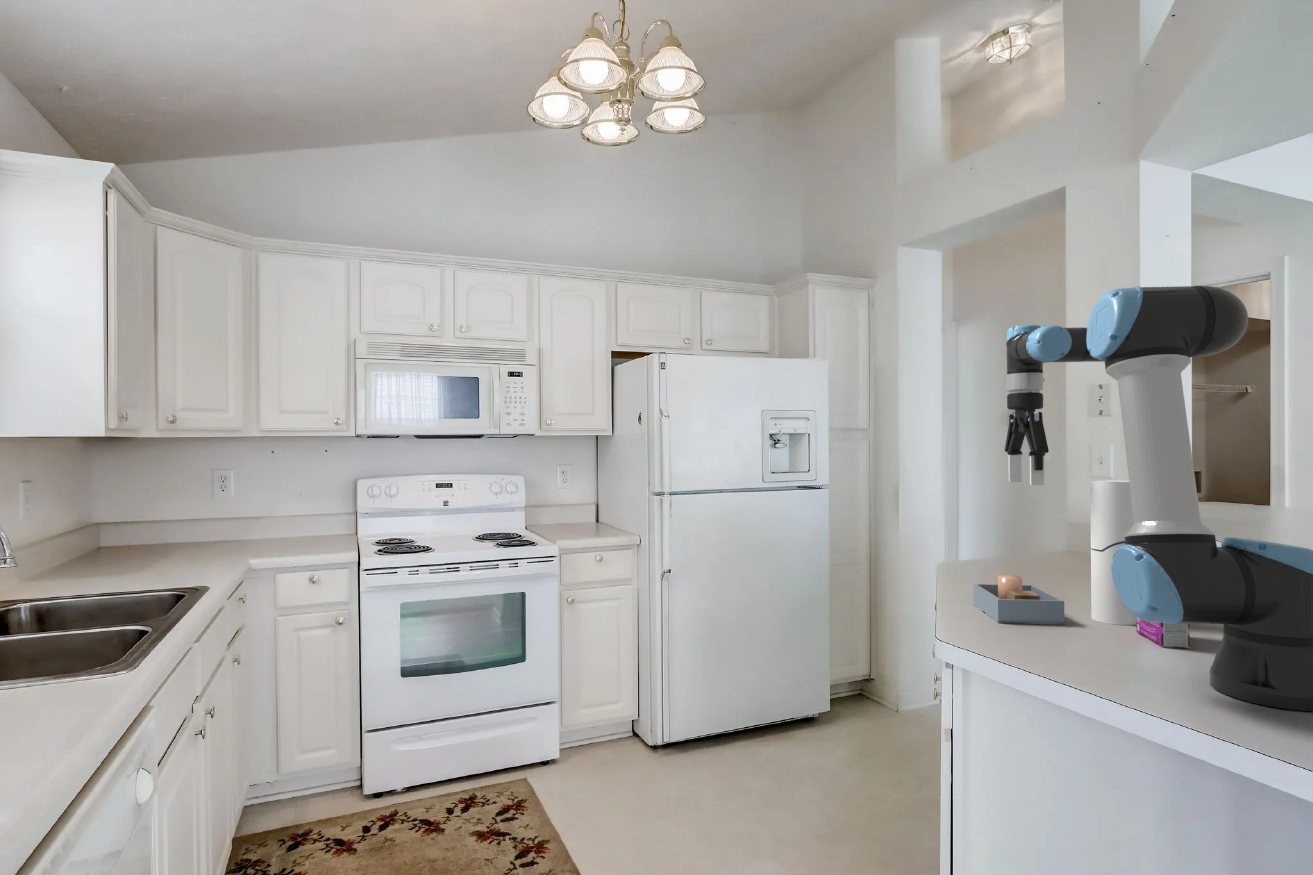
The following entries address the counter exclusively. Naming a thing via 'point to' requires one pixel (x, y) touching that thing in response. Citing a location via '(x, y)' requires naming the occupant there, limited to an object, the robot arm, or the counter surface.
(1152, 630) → the candy bar box
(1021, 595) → the walnut cube
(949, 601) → the counter surface
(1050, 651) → the counter surface
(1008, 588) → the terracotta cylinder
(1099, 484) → the container
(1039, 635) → the counter surface
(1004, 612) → the tote
